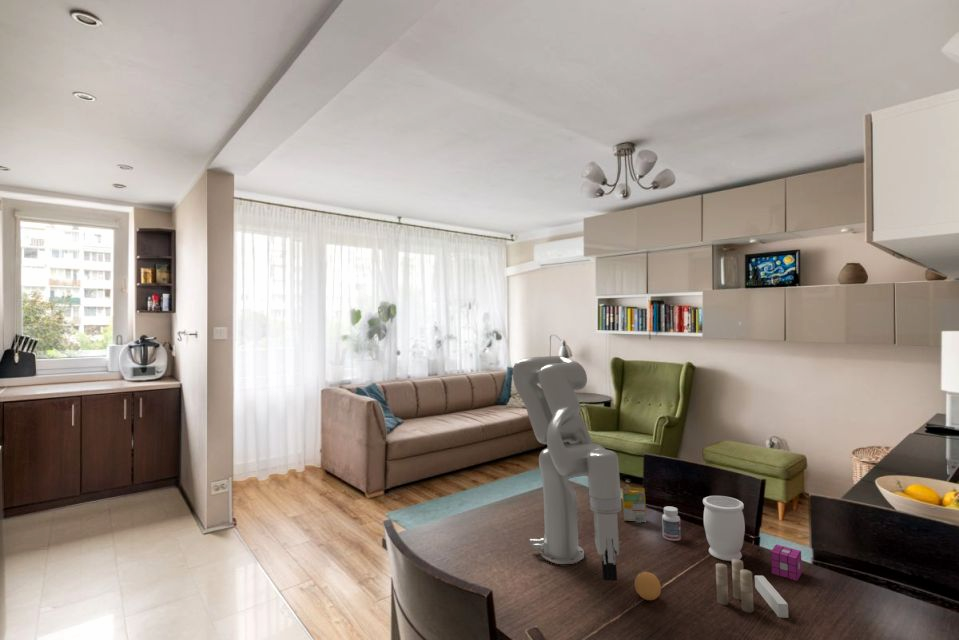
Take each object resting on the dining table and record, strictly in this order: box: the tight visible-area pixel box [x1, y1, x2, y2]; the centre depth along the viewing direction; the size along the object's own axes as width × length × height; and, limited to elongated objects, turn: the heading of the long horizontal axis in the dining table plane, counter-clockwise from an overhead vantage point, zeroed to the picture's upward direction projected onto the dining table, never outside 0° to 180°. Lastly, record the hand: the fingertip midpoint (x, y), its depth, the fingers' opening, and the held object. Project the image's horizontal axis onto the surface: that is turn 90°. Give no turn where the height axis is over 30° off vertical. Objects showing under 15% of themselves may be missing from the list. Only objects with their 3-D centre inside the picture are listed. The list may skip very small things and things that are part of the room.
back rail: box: [754, 575, 789, 619], centre depth 110 cm, size 2×12×3 cm, turn 172°
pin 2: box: [740, 568, 755, 613], centre depth 108 cm, size 2×2×8 cm
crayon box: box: [621, 486, 647, 524], centre depth 158 cm, size 7×3×12 cm, turn 77°
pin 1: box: [731, 559, 744, 600], centre depth 113 cm, size 2×2×8 cm
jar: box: [702, 495, 746, 562], centre depth 133 cm, size 11×10×15 cm
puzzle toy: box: [770, 544, 803, 582], centre depth 122 cm, size 6×6×6 cm
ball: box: [634, 571, 662, 601], centre depth 113 cm, size 6×6×6 cm
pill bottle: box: [661, 506, 682, 542], centre depth 145 cm, size 5×5×9 cm
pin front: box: [715, 562, 729, 606], centre depth 111 cm, size 2×2×8 cm
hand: (609, 578), depth 113 cm, fingers closed
